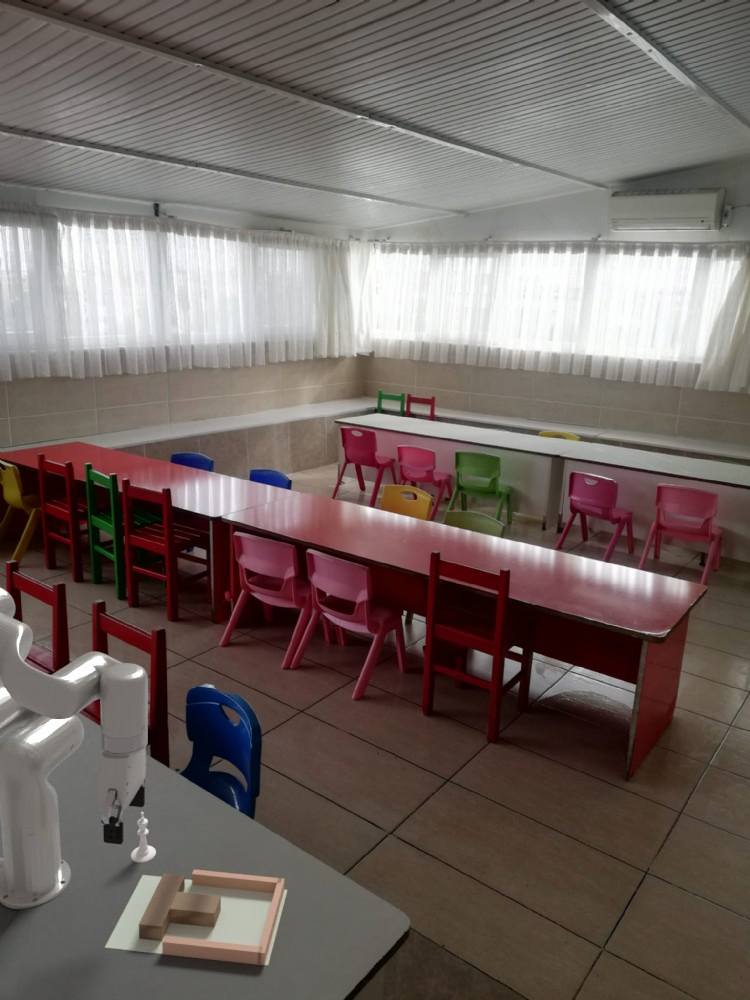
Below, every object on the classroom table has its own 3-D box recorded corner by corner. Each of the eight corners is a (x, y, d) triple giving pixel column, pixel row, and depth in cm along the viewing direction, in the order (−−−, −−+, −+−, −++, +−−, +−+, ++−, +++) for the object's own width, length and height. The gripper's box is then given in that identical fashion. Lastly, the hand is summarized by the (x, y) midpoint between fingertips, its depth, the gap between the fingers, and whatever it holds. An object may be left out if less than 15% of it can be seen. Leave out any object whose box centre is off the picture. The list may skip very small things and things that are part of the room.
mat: (104, 950, 126) (104, 947, 126) (142, 877, 143) (142, 874, 142) (268, 968, 124) (268, 965, 124) (287, 892, 141) (287, 889, 141)
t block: (139, 938, 128) (138, 924, 127) (163, 887, 140) (163, 873, 139) (207, 946, 127) (207, 931, 127) (226, 893, 139) (226, 880, 138)
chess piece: (129, 867, 145) (128, 822, 143) (130, 849, 150) (129, 806, 147) (156, 863, 146) (155, 819, 144) (156, 846, 151) (155, 803, 149)
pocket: (162, 953, 125) (162, 941, 125) (194, 880, 142) (193, 869, 141) (264, 964, 124) (264, 953, 124) (284, 889, 141) (284, 878, 140)
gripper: (122, 707, 135) (123, 790, 139) (79, 763, 118) (81, 855, 122) (163, 712, 134) (162, 794, 138) (126, 768, 117) (126, 860, 122)
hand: (124, 823), depth 130 cm, fingers open, 9 cm apart
